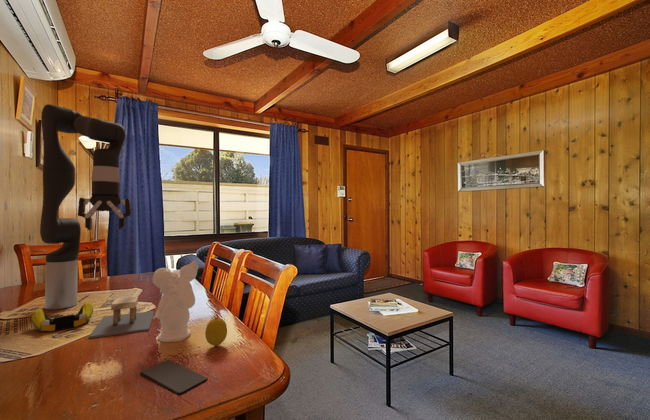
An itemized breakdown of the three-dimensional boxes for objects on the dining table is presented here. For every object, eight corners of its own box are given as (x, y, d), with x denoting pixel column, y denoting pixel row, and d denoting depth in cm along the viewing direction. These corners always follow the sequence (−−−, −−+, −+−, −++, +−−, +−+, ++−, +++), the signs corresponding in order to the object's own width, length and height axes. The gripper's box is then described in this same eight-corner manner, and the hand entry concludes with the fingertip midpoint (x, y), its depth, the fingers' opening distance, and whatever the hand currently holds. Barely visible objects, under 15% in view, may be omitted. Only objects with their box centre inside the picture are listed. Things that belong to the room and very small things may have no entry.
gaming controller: (32, 327, 96) (30, 337, 88) (32, 309, 96) (30, 317, 88) (92, 316, 106) (95, 324, 98) (92, 300, 106) (95, 307, 98)
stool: (110, 327, 94) (111, 304, 94) (115, 320, 100) (115, 298, 100) (135, 324, 97) (135, 301, 97) (138, 317, 103) (138, 296, 103)
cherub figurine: (150, 345, 83) (150, 264, 83) (157, 329, 95) (156, 258, 95) (199, 338, 88) (198, 261, 88) (199, 323, 99) (199, 255, 99)
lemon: (214, 353, 79) (214, 322, 79) (200, 348, 82) (201, 317, 82) (231, 345, 83) (231, 316, 83) (217, 340, 86) (218, 312, 86)
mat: (103, 318, 103) (103, 316, 103) (154, 312, 110) (154, 310, 110) (88, 338, 87) (88, 336, 87) (149, 330, 93) (149, 328, 93)
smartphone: (179, 393, 61) (139, 371, 68) (179, 398, 61) (139, 375, 68) (209, 377, 66) (168, 358, 74) (209, 382, 66) (168, 362, 74)
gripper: (132, 182, 108) (132, 228, 108) (82, 180, 102) (82, 229, 102) (129, 181, 102) (128, 229, 102) (75, 178, 96) (74, 230, 96)
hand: (105, 229), depth 102 cm, fingers open, 8 cm apart
